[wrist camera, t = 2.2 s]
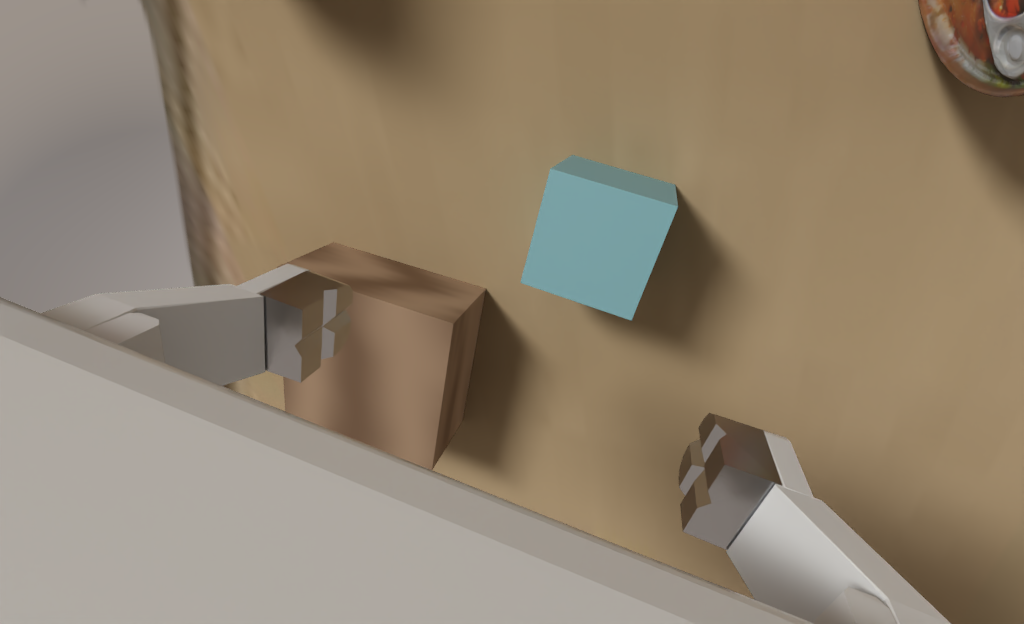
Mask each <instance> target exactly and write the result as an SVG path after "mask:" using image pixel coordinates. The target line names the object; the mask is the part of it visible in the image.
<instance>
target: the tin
mask: <svg viewBox="0 0 1024 624" xmlns="http://www.w3.org/2000/svg"><path fill="white" fill-rule="evenodd" d="M918 1H919V6H920V11H921V16H922V18H923V22H924V25H925V28H926V31H927V34H928V36H929V39H930V41H931V43H932V45H933V47H934V49H935V51H936V53H937V55H938V56H939V58H940V60H941V61H942V63H943V64H944V65H945V66H946V67H947V69H948V70H949V71H950V72H951V73H952V74H953V75H954V76H955V77H956V78H957V79H959V80H960V81H961V82H962V83H963V84H965V85H967V86H968V87H970V88H972V89H974V90H976V91H978V92H981V93H983V94H987V95H990V96H996V97H1012V96H1021V95H1024V0H918Z"/></svg>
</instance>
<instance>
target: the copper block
mask: <svg viewBox="0 0 1024 624" xmlns="http://www.w3.org/2000/svg"><path fill="white" fill-rule="evenodd" d="M285 264H292V265H296V266H299V267H302V268H305V269H308V270H310V271H313V272H315V273H318V274H321V275H323V276H326V277H329V278H331V279H334V280H337V281H339V282H342V283H345V284H347V285H350V287H351V289H352V290H353V303H352V305H351V306H350V307H349V308H347V309H346V311H347V313H348V315H349V317H350V319H351V328H350V333H349V336H348V339H347V341H346V343H345V344H344V346H343V347H342V349H341V350H340V351H339V352H338V353H337V354H336V355H335V356H333V357H330V358H325V359H321V367H320V368H319V369H317V370H316V371H315V372H314V373H312V374H311V375H310V376H309V377H307V378H306V379H305V380H304V381H302V382H301V383H300V382H297V381H294V380H292V379H289V378H286V377H283V378H284V396H285V412H288V413H290V414H293V415H295V416H298V417H300V418H303V419H305V420H308V421H310V422H313V423H315V424H318V425H320V426H323V427H325V428H328V429H330V430H333V431H335V432H338V433H340V434H343V435H345V436H347V437H350V438H352V439H355V440H357V441H360V442H362V443H365V444H367V445H370V446H372V447H375V448H377V449H380V450H382V451H385V452H387V453H390V454H392V455H395V456H397V457H400V458H402V459H405V460H407V461H410V462H412V463H415V464H417V465H420V466H422V467H425V468H428V469H430V470H432V469H433V468H434V466H435V465H436V463H437V461H438V460H439V458H440V456H441V455H442V453H443V452H444V450H445V448H446V447H447V445H448V444H449V442H450V440H451V439H452V437H453V436H454V434H455V432H456V431H457V429H458V428H459V426H460V424H461V423H462V421H463V416H464V410H465V405H466V399H467V393H468V388H469V382H470V376H471V371H472V365H473V359H474V354H475V348H476V342H477V337H478V331H479V326H480V320H481V314H482V309H483V303H484V297H485V292H486V288H482V287H479V286H476V285H472V284H469V283H466V282H462V281H459V280H456V279H453V278H449V277H446V276H443V275H439V274H436V273H433V272H429V271H426V270H423V269H420V268H416V267H413V266H410V265H406V264H403V263H400V262H397V261H393V260H390V259H387V258H383V257H380V256H377V255H373V254H370V253H367V252H364V251H360V250H357V249H354V248H350V247H347V246H344V245H341V244H337V243H334V242H333V243H331V244H329V245H326V246H324V247H322V248H319V249H317V250H315V251H313V252H310V253H308V254H306V255H303V256H301V257H299V258H297V259H294V260H292V261H290V262H287V263H285ZM285 264H283V265H285ZM283 265H280V266H278V267H281V266H283ZM278 267H277V268H278Z"/></svg>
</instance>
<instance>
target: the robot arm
mask: <svg viewBox="0 0 1024 624" xmlns="http://www.w3.org/2000/svg"><path fill="white" fill-rule="evenodd" d="M352 303H353V290H352V289H351V287H350V285H347V284H345V283H342V282H339V281H337V280H334V279H331V278H329V277H326V276H323V275H321V274H318V273H315V272H313V271H310V270H308V269H305V268H302V267H299V266H296V265H292V264H285V265H283V266H281V267H278V268H276V269H274V270H272V271H269V272H267V273H265V274H263V275H260V276H258V277H256V278H254V279H251V280H249V281H247V282H245V283H242V284H240V285H238V286H234V285H231V284H224V285H211V286H197V287H183V288H169V289H158V290H157V289H155V290H142V291H128V292H114V293H100V294H95V295H92V296H89V297H86V298H83V299H80V300H78V301H75V302H72V303H69V304H66V305H63V306H60V307H57V308H54V309H52V310H49V311H46V312H43V313H38V312H36V311H33V310H31V309H28V308H26V307H23V306H21V305H18V304H16V303H13V302H11V301H8V300H6V299H3V298H1V297H0V624H951V623H950V622H949V621H948V620H947V619H946V618H945V617H944V616H942V615H941V614H940V613H939V612H938V611H937V610H936V609H935V608H934V607H933V606H932V605H931V604H930V603H929V602H928V601H927V600H926V599H925V598H924V597H923V596H922V595H920V594H919V593H918V592H917V591H916V590H915V589H914V588H913V587H912V586H911V585H910V584H909V583H908V582H907V581H906V580H905V579H904V578H903V577H902V576H901V575H900V574H898V573H897V572H896V571H895V570H894V569H893V568H892V567H891V566H890V565H889V564H888V563H887V562H886V561H885V560H884V559H883V558H882V557H881V556H880V555H879V554H878V553H876V552H875V551H874V550H873V549H872V548H871V547H870V546H869V545H868V544H867V543H866V542H865V541H864V540H863V539H862V538H861V537H860V536H859V535H858V534H857V533H856V532H854V531H853V530H852V529H851V528H850V527H849V526H848V525H847V524H846V523H845V522H844V521H843V520H842V519H841V518H840V517H839V516H838V515H837V514H836V513H835V512H834V511H832V510H831V509H830V508H829V507H828V506H827V505H826V504H825V503H824V502H823V501H821V500H819V499H816V498H814V497H813V495H812V492H811V490H810V487H809V485H808V483H807V480H806V478H805V475H804V473H803V471H802V468H801V466H800V464H799V461H798V459H797V456H796V454H795V452H794V449H793V447H792V444H791V442H790V441H789V440H788V439H787V438H786V437H783V436H780V435H777V434H774V433H770V432H767V431H764V430H761V429H758V428H755V427H752V426H749V425H745V424H742V423H739V422H736V421H733V420H730V419H727V418H724V417H721V416H718V415H715V414H711V413H709V414H708V415H707V416H706V417H705V418H704V419H703V421H702V423H701V424H700V426H699V434H700V439H699V440H697V441H694V442H692V443H690V444H689V446H688V448H687V450H686V452H685V454H684V456H683V459H682V462H681V465H680V470H679V488H680V489H681V491H682V492H683V493H684V495H685V497H684V499H683V501H682V503H681V504H680V505H681V517H682V528H683V532H685V533H687V534H690V535H692V536H694V537H697V538H699V539H702V540H704V541H706V542H709V543H711V544H714V545H716V546H718V547H721V548H723V549H725V550H727V551H726V552H727V554H728V556H729V557H730V559H731V561H732V562H733V564H734V566H735V567H736V569H737V571H738V572H739V574H740V576H741V577H742V579H743V581H744V582H745V584H746V586H747V587H748V589H749V591H750V592H751V594H752V595H753V597H754V599H755V600H754V599H751V598H749V597H747V596H744V595H742V594H739V593H737V592H734V591H732V590H729V589H727V588H724V587H722V586H719V585H717V584H714V583H712V582H709V581H707V580H704V579H702V578H699V577H697V576H694V575H692V574H689V573H687V572H684V571H682V570H679V569H677V568H674V567H672V566H669V565H667V564H664V563H662V562H659V561H657V560H654V559H652V558H649V557H647V556H644V555H642V554H639V553H637V552H634V551H632V550H629V549H627V548H624V547H622V546H619V545H617V544H614V543H612V542H609V541H607V540H604V539H602V538H599V537H597V536H594V535H592V534H589V533H587V532H584V531H582V530H579V529H577V528H574V527H572V526H569V525H567V524H564V523H562V522H559V521H557V520H554V519H552V518H549V517H547V516H544V515H542V514H539V513H537V512H534V511H532V510H529V509H527V508H524V507H522V506H519V505H517V504H514V503H512V502H509V501H507V500H504V499H502V498H499V497H497V496H495V495H492V494H490V493H487V492H485V491H482V490H480V489H477V488H475V487H472V486H470V485H467V484H465V483H462V482H460V481H457V480H455V479H452V478H450V477H447V476H445V475H442V474H440V473H437V472H435V471H432V470H430V469H427V468H425V467H422V466H420V465H417V464H415V463H412V462H410V461H407V460H405V459H402V458H400V457H397V456H395V455H392V454H390V453H387V452H385V451H382V450H380V449H377V448H375V447H372V446H370V445H367V444H365V443H362V442H360V441H357V440H355V439H352V438H350V437H347V436H345V435H343V434H340V433H338V432H335V431H333V430H330V429H328V428H325V427H323V426H320V425H318V424H315V423H313V422H310V421H308V420H305V419H303V418H300V417H298V416H295V415H293V414H290V413H288V412H285V411H283V410H280V409H278V408H275V407H273V406H270V405H268V404H265V403H263V402H260V401H258V400H255V399H253V398H250V397H248V396H245V395H243V394H240V393H238V392H235V391H233V390H230V389H228V388H225V387H223V386H222V385H226V384H229V383H232V382H235V381H238V380H242V379H245V378H248V377H251V376H254V375H257V374H261V373H264V372H265V370H266V371H269V372H272V373H275V374H278V375H280V376H283V377H286V378H289V379H292V380H294V381H297V382H300V383H301V382H302V381H304V380H305V379H306V378H307V377H309V376H310V375H311V374H312V373H314V372H315V371H316V370H317V369H319V368H320V367H321V359H325V358H330V357H333V356H335V355H336V354H337V353H338V352H339V351H340V350H341V349H342V347H343V346H344V344H345V343H346V341H347V339H348V336H349V333H350V328H351V319H350V317H349V315H348V313H347V311H346V309H347V308H349V307H350V306H351V305H352Z"/></svg>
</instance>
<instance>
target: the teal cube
mask: <svg viewBox="0 0 1024 624" xmlns="http://www.w3.org/2000/svg"><path fill="white" fill-rule="evenodd" d="M677 208H678V202H677V194H676V187H675V185H674V184H671V183H667V182H664V181H660V180H657V179H654V178H650V177H647V176H643V175H640V174H636V173H633V172H629V171H626V170H623V169H619V168H616V167H612V166H609V165H605V164H602V163H598V162H595V161H592V160H588V159H585V158H581V157H578V156H574V155H572V156H570V157H568V158H567V159H565V160H564V161H562V162H560V163H559V164H557V165H556V166H554V167H552V168H551V169H550V173H549V176H548V180H547V184H546V188H545V192H544V195H543V199H542V203H541V207H540V211H539V214H538V218H537V222H536V226H535V230H534V233H533V237H532V241H531V245H530V249H529V252H528V256H527V260H526V264H525V268H524V271H523V275H522V279H521V283H523V284H526V285H529V286H531V287H534V288H537V289H540V290H543V291H546V292H549V293H552V294H555V295H558V296H561V297H564V298H567V299H570V300H572V301H575V302H578V303H581V304H584V305H587V306H590V307H593V308H596V309H599V310H602V311H605V312H608V313H610V314H613V315H616V316H619V317H622V318H625V319H628V320H632V318H633V316H634V313H635V311H636V308H637V306H638V303H639V301H640V298H641V296H642V294H643V291H644V289H645V286H646V284H647V281H648V279H649V276H650V274H651V272H652V269H653V267H654V264H655V262H656V259H657V257H658V254H659V252H660V250H661V247H662V245H663V242H664V240H665V237H666V235H667V232H668V230H669V228H670V225H671V223H672V220H673V218H674V215H675V213H676V210H677Z"/></svg>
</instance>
